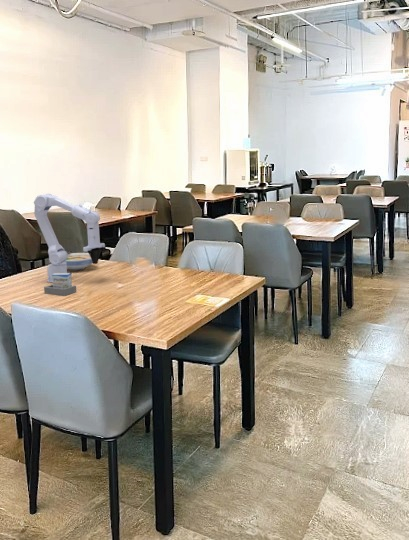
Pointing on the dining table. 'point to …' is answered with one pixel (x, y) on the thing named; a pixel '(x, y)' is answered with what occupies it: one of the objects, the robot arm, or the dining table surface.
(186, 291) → the dining table surface
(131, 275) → the dining table surface
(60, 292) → the cradle jig
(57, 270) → the robot arm
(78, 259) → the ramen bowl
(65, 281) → the medicine box
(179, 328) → the dining table surface
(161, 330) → the dining table surface
